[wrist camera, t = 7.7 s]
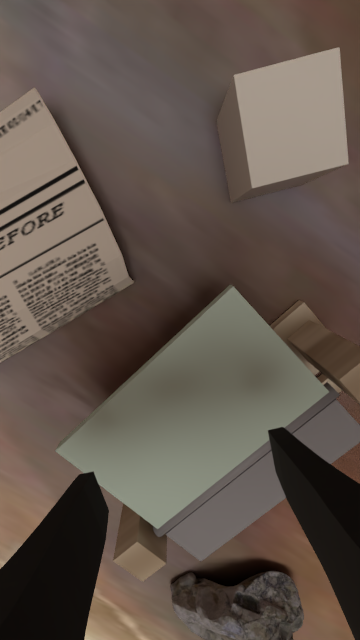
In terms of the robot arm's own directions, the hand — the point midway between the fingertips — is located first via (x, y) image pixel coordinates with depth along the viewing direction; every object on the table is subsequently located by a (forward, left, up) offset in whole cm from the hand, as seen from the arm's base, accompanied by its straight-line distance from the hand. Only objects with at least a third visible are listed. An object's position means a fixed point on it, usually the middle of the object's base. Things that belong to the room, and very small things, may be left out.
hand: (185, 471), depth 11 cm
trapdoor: (-1, +2, -8) cm, 9 cm away
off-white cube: (-9, -13, -10) cm, 19 cm away
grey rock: (0, +24, -11) cm, 27 cm away
